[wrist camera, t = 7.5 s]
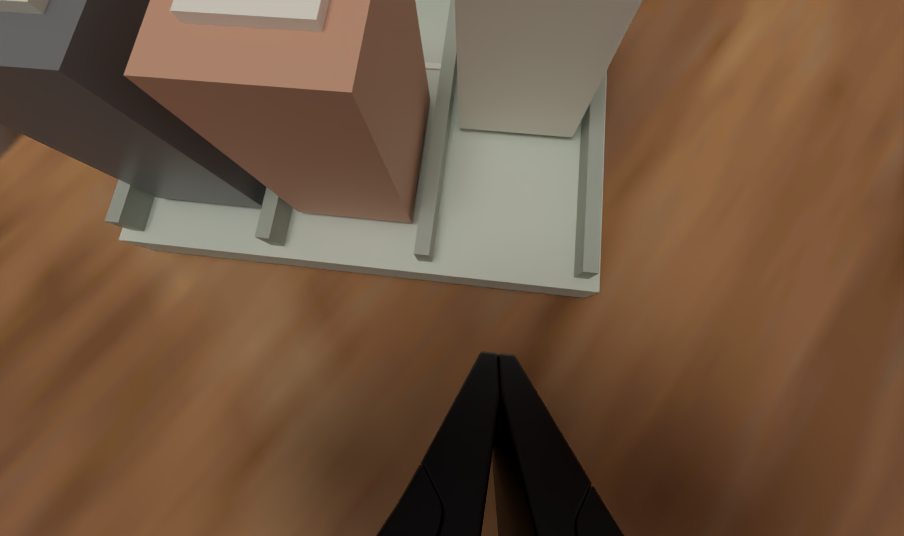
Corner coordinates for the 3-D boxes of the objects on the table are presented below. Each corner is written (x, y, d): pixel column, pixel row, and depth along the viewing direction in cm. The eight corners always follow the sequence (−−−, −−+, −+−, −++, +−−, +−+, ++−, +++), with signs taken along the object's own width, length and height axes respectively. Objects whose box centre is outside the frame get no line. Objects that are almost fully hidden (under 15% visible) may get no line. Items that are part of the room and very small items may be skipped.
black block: (265, 208, 15) (42, 59, 7) (158, 197, 16) (-169, 43, 8) (293, 89, 17) (130, -152, 9) (193, 81, 17) (-56, -158, 9)
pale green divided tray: (584, 298, 16) (631, 279, 12) (153, 250, 18) (42, 217, 13) (596, 24, 19) (637, -77, 15) (228, 2, 21) (159, -97, 16)
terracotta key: (411, 223, 15) (346, 81, 7) (298, 211, 15) (109, 64, 7) (430, 99, 16) (393, -144, 8) (324, 91, 17) (188, -150, 8)
